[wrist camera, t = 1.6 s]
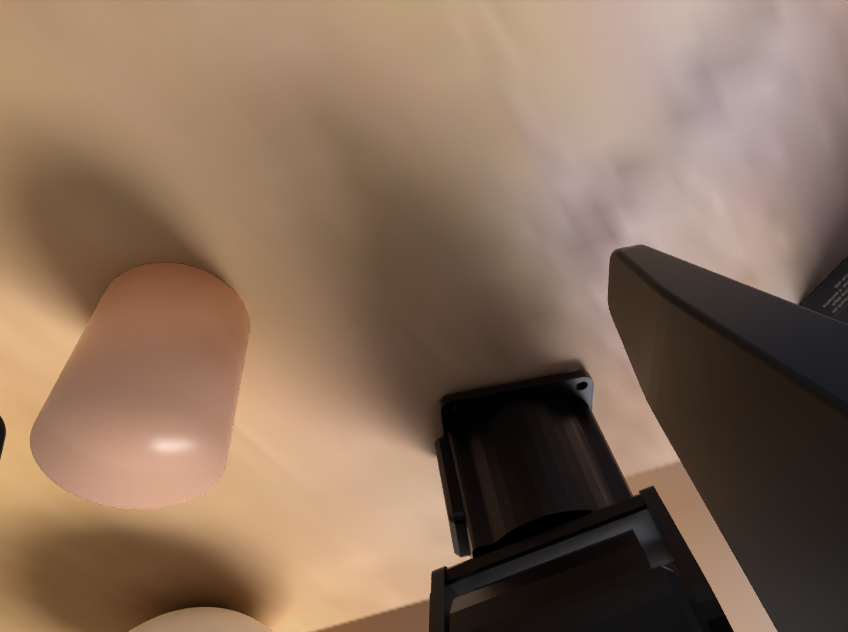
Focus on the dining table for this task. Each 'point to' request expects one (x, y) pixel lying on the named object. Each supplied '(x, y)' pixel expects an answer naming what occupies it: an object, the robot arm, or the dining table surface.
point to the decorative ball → (202, 621)
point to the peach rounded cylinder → (147, 391)
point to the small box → (832, 295)
